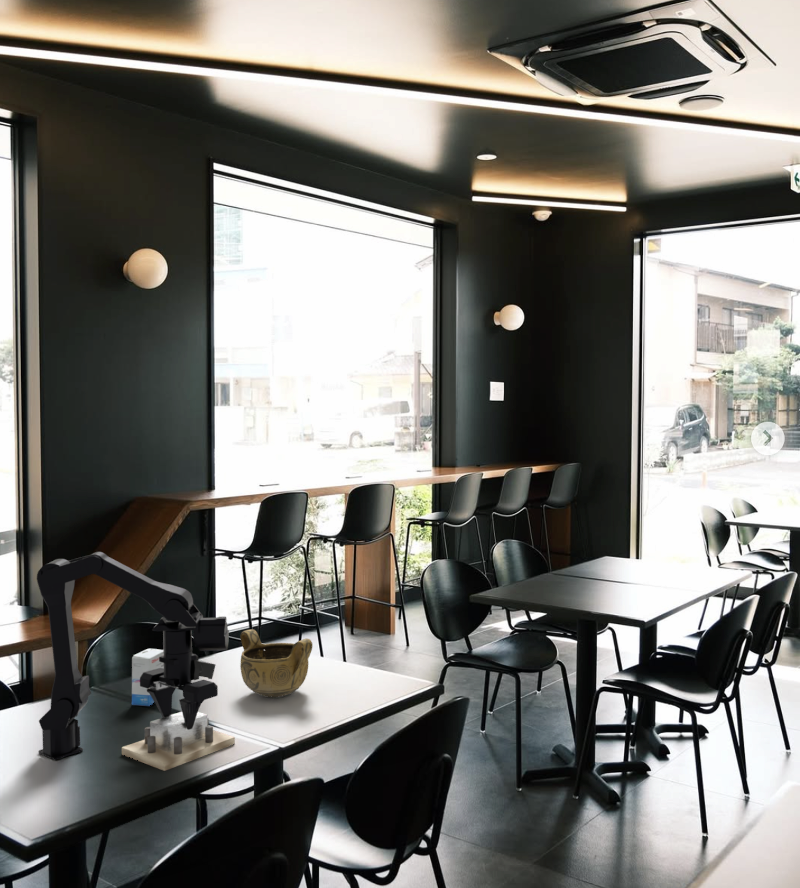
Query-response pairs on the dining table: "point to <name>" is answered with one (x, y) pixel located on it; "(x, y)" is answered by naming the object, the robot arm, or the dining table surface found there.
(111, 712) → the dining table surface
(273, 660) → the ceramic bowl
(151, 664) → the ink box
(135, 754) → the pin tray
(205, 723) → the block
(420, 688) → the dining table surface
